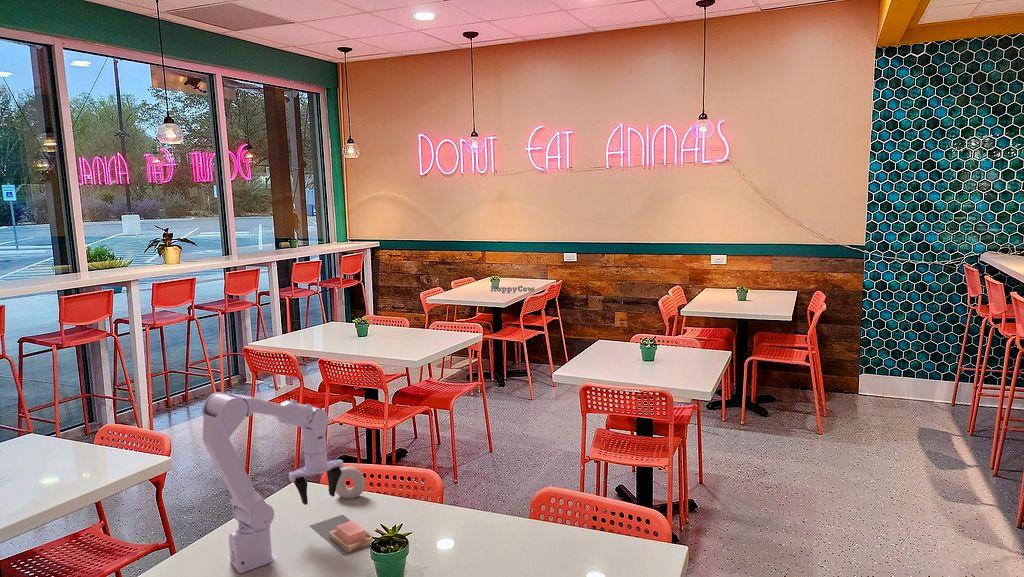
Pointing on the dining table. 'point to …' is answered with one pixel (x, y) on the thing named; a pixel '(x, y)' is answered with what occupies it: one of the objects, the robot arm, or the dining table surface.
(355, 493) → the donut
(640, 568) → the dining table surface
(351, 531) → the card deck
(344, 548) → the tray
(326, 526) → the mat
